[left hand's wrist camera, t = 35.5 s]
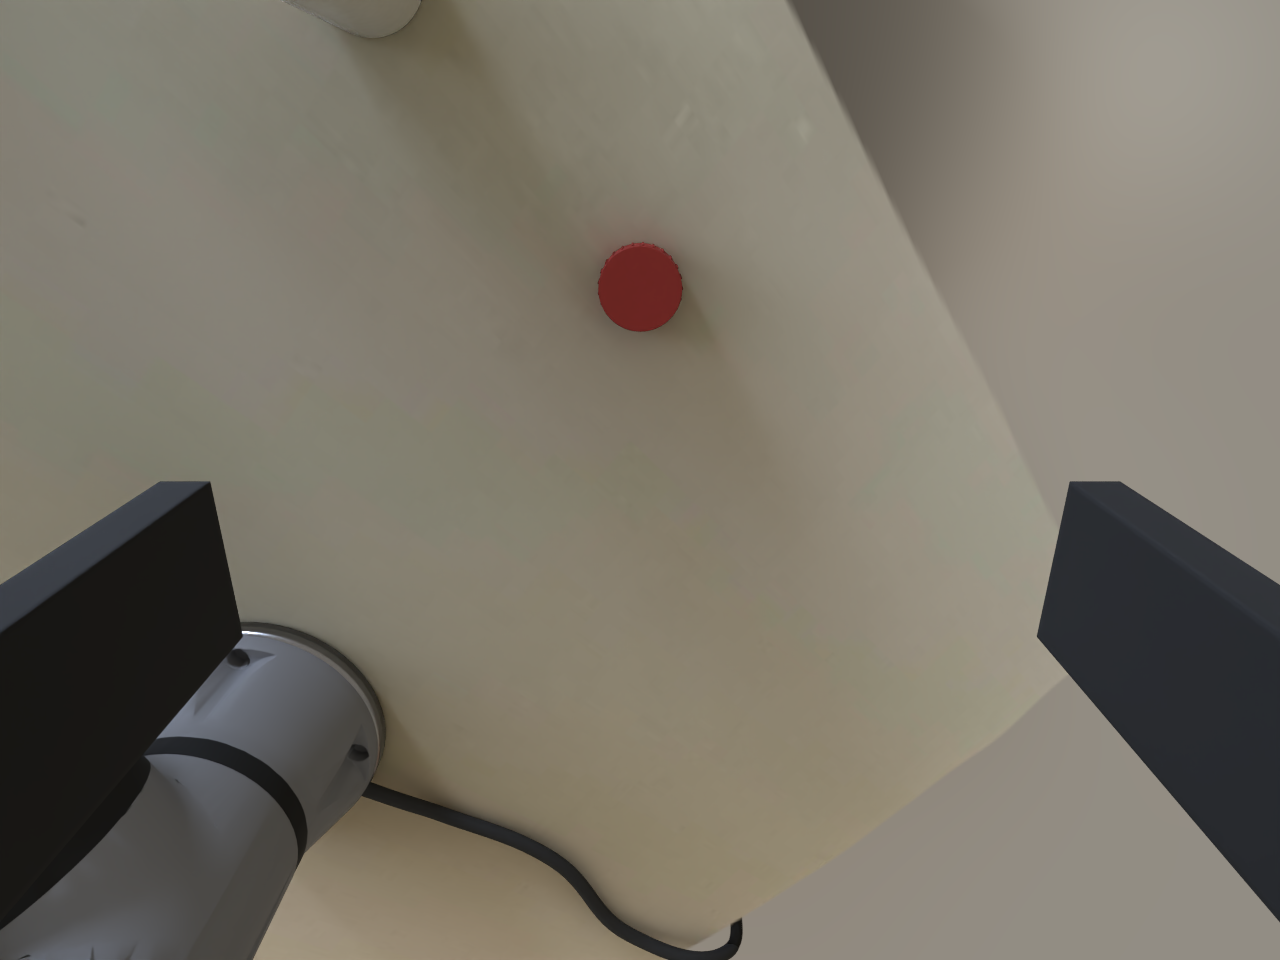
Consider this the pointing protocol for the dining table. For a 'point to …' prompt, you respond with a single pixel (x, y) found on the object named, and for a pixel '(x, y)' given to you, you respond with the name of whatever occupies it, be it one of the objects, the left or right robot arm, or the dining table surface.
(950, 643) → the dining table surface
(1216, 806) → the left robot arm
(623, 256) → the cap
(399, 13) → the bottle
